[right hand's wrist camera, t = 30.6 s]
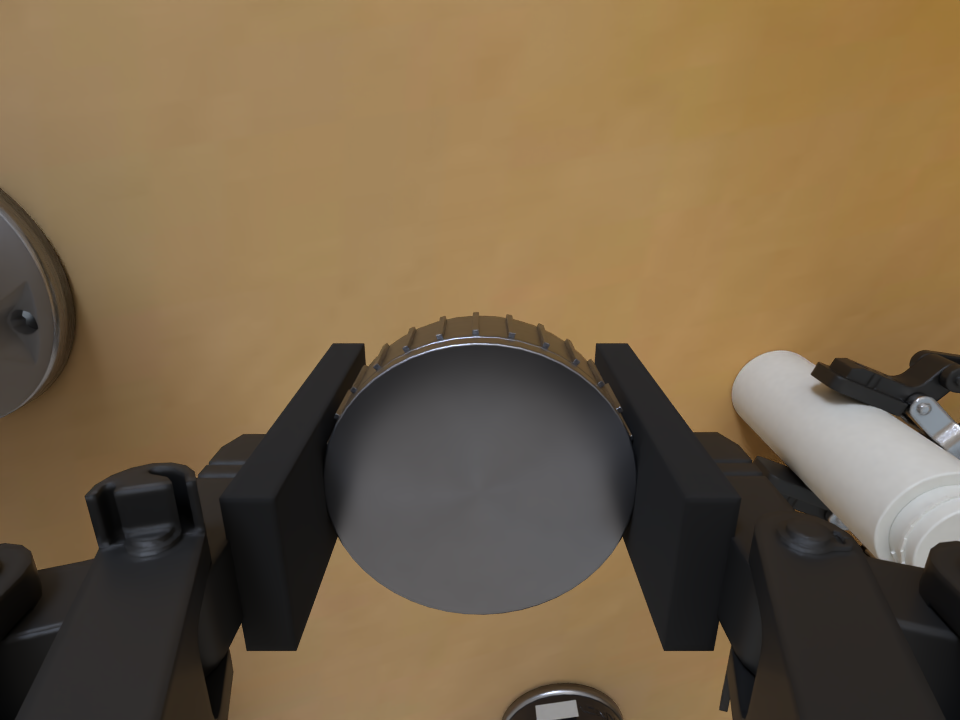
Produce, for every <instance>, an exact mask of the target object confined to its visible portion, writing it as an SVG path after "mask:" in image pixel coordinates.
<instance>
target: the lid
mask: <svg viewBox="0 0 960 720" xmlns="http://www.w3.org/2000/svg"><path fill="white" fill-rule="evenodd" d="M621 412H623V410H622V408H621V406H620V404H619V402H618V400H617V398H616V397H615V395H614V393H613V391H612V389H611V387H610V385H609V383H607V384H605V383H604V381H603V379H602V377H601V375H600V373H599V371H598V369H597V367H596V366H595V364H594V362H593V361H592V360H591V359H590V360H589V361H587V360H586V359H585V358H584V357H583V356H582V355H581V354H580V353H579V352H577V351H576V350H575V349H574V346H573V344H572V342H571V341H570V340H569V339H566V340H565V341H563V340H561V339H560V338H558V337H557V336H555V335H553V334H552V333H550V332H548V331H545V328H544V326H543V325H541V324H538V326H537V327H536V326H534V325H531V324H528V323H525V322H521V321H518V320H514V319H513V318H512V315H506V318H502V317H496V316H479V312H473V316H467V317H456V318H452V319H446V316H443V317H440V321H438V322H435V323H432V324H429V325H427V326H424V327H421V328H419V329H417V330H416V329H415V327H412V328H410V329H409V332H408V334H407V335H405V336H403V337H402V338H400V339H399V340H397V341H396V342H394V343H393V344H391V345H390V346H389V345H388V344H387V343H386V344H385V345H384V346H383V347H382V349H381V351H380V353H379V355H378V356H377V357H376V358H375V359H374V360H373V362H372V363H371V364H370V365H369V366H366V365H364V366H363V367H362V369H361V370H360V372H359V374H358V376H357V378H356V380H355V382H354V384H353V386H352V387H351V389H350V390H348V392H347V394H346V395H345V397H344V399H343V401H342V403H341V405H340V407H339V408H338V410H337V412H336V414H335V416H334V419H336V420H337V422H336V424H335V426H334V429H333V431H332V434H331V436H330V438H329V440H328V442H327V449H326V453H325V457H324V466H323V481H324V491H325V500H326V507H327V512H328V515H329V517H330V520H331V523H332V525H333V528H334V530H335V532H336V534H337V536H338V537H339V539H340V541H341V543H342V545H343V546H344V547H345V549H346V550H347V551H348V553H349V554H350V556H351V557H352V558H353V559H354V560H355V561H356V563H357V564H358V565H359V566H360V567H361V568H362V569H363V570H364V571H365V572H366V573H368V574H369V575H370V576H371V577H372V578H374V579H375V580H376V581H377V582H379V583H380V584H382V585H383V586H385V587H386V588H388V589H389V590H391V591H393V592H394V593H396V594H398V595H400V596H402V597H404V598H406V599H408V600H410V601H413V602H416V603H418V604H421V605H424V606H427V607H430V608H434V609H438V610H442V611H447V612H454V613H461V614H481V615H485V614H499V613H507V612H512V611H518V610H523V609H526V608H530V607H533V606H537V605H540V604H542V603H545V602H547V601H549V600H552V599H554V598H557V597H558V596H560V595H562V594H564V593H566V592H568V591H569V590H571V589H573V588H574V587H576V586H577V585H579V584H580V583H581V582H583V581H584V580H586V579H587V578H588V577H589V576H590V575H591V574H593V573H594V572H595V571H596V570H597V569H598V568H599V567H600V566H601V565H602V564H603V563H604V562H605V560H606V559H607V558H608V557H609V556H610V555H611V554H612V552H613V551H614V549H615V548H616V546H617V545H618V543H619V542H620V540H621V538H622V536H623V534H624V532H625V530H626V528H627V526H628V524H629V521H630V518H631V515H632V512H633V508H634V503H635V495H636V485H637V464H636V457H635V451H634V448H633V445H632V441H633V436H632V434H631V432H630V430H629V428H628V426H627V424H626V422H625V420H624V418H623V416H622V415H621Z"/></svg>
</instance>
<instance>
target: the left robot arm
mask: <svg viewBox="0 0 960 720" xmlns="http://www.w3.org/2000/svg"><path fill="white" fill-rule="evenodd" d="M810 375H812V376H813V377H814V378H816V379H817V380H819V381H820V382H822V383H823V384H825V385H826V386H828V387H829V388H831V389H833V390H835V391H837V392H839V393H841V394H844V395H846V396H849V397H851V398H854V399H856V400H859V401H861V402H864V403H866V404H869V405H871V406H873V407H876V408H879V409H882V410H884V411H886V412H888V413H891V414H893V415H896V418H897V419H898V420H900V421H901V422H903V423H904V424H906V425H907V426H909V427H910V428H912V429H913V430H915V431H916V432H918V433H920V434H921V435H923V436H924V437H926V438H927V439H929V440H930V441H932V442H933V443H935V444H936V445H938V446H939V447H941V448H942V449H944V450H945V451H947V452H948V453H950V454H951V455H953V456H955V457H956V458H958V459H959V460H960V423H956V422H955V421H954V420H953V419H952V418H951V417H950V416H949V415H948V414H947V413H946V411H945V410H944V409H943V408H942V407H941V406H940V405H939V404H938V403H937V401H938V400H939V399H941V398H942V397H943V396H945V395H946V394H947V393H948V392H950V391H951V392H955V393H960V355H956V354H949V353H942V352H936V351H929V350H922V351H919V352H917V353H916V354H915V355H914V356H913V357H912V358H911V360H910V368H909V369H908V370H907V371H905V372H904V373H902V374H900V375H896V376H889V375H886V374H883V373H881V372H879V371H876V370H874V369H871V368H869V367H867V366H864V365H862V364H859V363H857V362H854V361H852V360H850V359H847V358H835V359H834V361H833V362H832V364H831V365H830V366H828V365H825V364H823V363H820V362H818V363H817V365H816V366H815V368H814V369H813V371H812V372H811V374H810ZM753 463H755V464H756V466H757V467H758V468H759V469H760V470H761V471H762V474H763V476H766V477H767V478H768V480H769V481H770V482H771V483H772V484H773V485H774V487H775V488H776V489H777V490H778V491H779V492H780V494H781V495H782V496H783V497H784V498H785V499H786V501H787V502H788V503H789V504H790V505H791V506H792V508H793V509H795V510H798V511H801V512H804V513H805V514H808V515H812V516H816V517H819V518H821V519H823V520H826V521H828V522H830V523H832V524H835V525H837V526H838V527H839V528H841V529H842V530H849V529H848V528H847V527H846V526H845V525H844V524H843V523H842V522H841V521H840V520H839V519H838V518H837V517H836V516H835V515H834V513H833V512H832V511H831V510H830V509H829V508H828V507H827V506H826V505H825V504H824V503H823V502H822V501H821V500H820V499H819V498H818V497H817V496H816V495H815V494H814V493H813V492H812V491H811V490H810V489H809V487H808V486H807V485H806V484H805V483H804V482H803V481H802V480H801V479H800V478H799V477H798V476H797V475H796V474H795V473H794V472H793V471H792V470H791V469H790V468H789V467H787V466H784V465H782V464H779V463H776V462H774V461H771V460H768V459H766V458H763V457H760V456H757V457H756V458H755V460H754V462H753ZM858 545H859V544H858ZM859 546H860V545H859ZM860 547H861V549H862V551H863V553H864V555H865V556H868V557H872V558H876V557H875V556H874V555H873V554H872V553H871V552H870V551H869V550H868V549H867V548H866V547H865V546H864V545H863V544H862V546H860ZM876 559H877V558H876ZM502 720H623V717H622V714H621V711H620V710H619V708H618V706H617V705H616V704H615V702H614V701H613V700H612V699H611V698H609V697H608V696H607V695H605V694H604V693H602V692H600V691H598V690H596V689H594V688H591V687H588V686H584V685H579V684H569V683H562V684H552V685H546V686H543V687H539V688H536V689H534V690H531V691H529V692H527V693H526V694H524V695H522V696H521V697H519V698H518V699H517V700H515V701H514V702H513V703H512V704H511V705H510V707H509V708H508V709H507V711H506V712H505V714H504V716H503V719H502Z"/></svg>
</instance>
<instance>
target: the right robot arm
mask: <svg viewBox="0 0 960 720" xmlns="http://www.w3.org/2000/svg"><path fill="white" fill-rule="evenodd" d="M74 328H75V316H74V306H73V299H72V295H71V290H70V286H69V283H68V280H67V277H66V274H65V272H64V270H63V267H62V265H61V263H60V260H59V259H58V257H57V255H56V253H55V251H54V249H53V247H52V246H51V244H50V243H49V241H48V240H47V238H46V237H45V235H44V234H43V232H42V231H41V230H40V228H39V227H38V226H37V224H36V223H35V222H34V221H33V219H32V218H31V217H30V216H29V215H28V214H27V213H26V212H25V211H24V209H23V208H22V207H20V206H19V205H18V204H17V203H16V202H15V201H14V200H13V199H12V198H11V197H10V196H9V195H7V194H6V193H5V192H4V191H3V190H1V189H0V418H2V417H4V416H6V415H8V414H10V413H11V412H13V411H15V410H17V409H18V408H20V407H22V406H24V405H25V404H27V403H29V402H30V401H32V400H34V399H35V398H37V397H38V396H40V395H41V394H42V393H44V392H45V391H46V390H47V389H48V388H49V387H50V386H51V385H52V384H53V383H54V381H55V380H56V379H57V378H58V376H59V375H60V373H61V372H62V370H63V368H64V366H65V364H66V362H67V360H68V357H69V354H70V351H71V348H72V343H73V338H74ZM364 365H366V361H365V347H364V343H333V344H332V345H331V347H330V348H329V350H328V351H327V352H326V354H325V355H324V356H323V358H322V359H321V360H320V362H319V363H318V364H317V366H316V367H315V369H314V370H313V371H312V373H311V374H310V375H309V377H308V378H307V379H306V381H305V382H304V383H303V385H302V386H301V387H300V389H299V390H298V392H297V393H296V394H295V396H294V397H293V398H292V400H291V401H290V402H289V404H288V405H287V406H286V408H285V409H284V411H283V412H282V413H281V415H280V416H279V417H278V419H277V420H276V421H275V423H274V424H273V425H272V427H271V428H270V430H269V431H268V432H267V434H243V435H241V436H240V437H238V438H236V439H235V440H233V441H231V442H230V443H228V444H226V445H225V446H223V447H221V449H220V450H219V451H218V452H217V453H216V455H215V456H214V457H213V458H212V459H211V460H210V462H209V465H206V466H205V467H204V469H203V470H202V471H201V472H200V473H199V474H198V478H196V477H195V472H194V471H193V470H192V469H190V468H189V467H187V466H186V465H181V464H176V463H152V464H147V465H143V466H138V467H133V468H130V469H127V470H125V471H122V472H119V473H117V474H114V475H111V476H110V477H108V478H106V479H105V480H103V481H101V482H100V483H98V484H96V485H95V486H94V487H93V488H92V489H91V490H90V491H89V492H88V493H87V494H86V495H85V499H86V503H87V506H88V510H89V513H90V517H91V521H92V524H93V528H94V532H95V535H96V539H97V542H98V546H99V550H98V552H97V554H96V556H95V558H94V559H91V560H87V561H82V562H77V563H72V564H67V565H62V566H57V567H52V568H47V569H42V570H37V568H36V565H35V562H34V559H33V556H32V553H31V551H29V550H28V549H27V548H25V547H24V546H22V545H16V544H7V543H4V544H0V720H227V719H228V711H229V703H230V695H231V687H232V679H233V667H232V660H231V655H230V650H229V647H230V645H231V643H232V641H233V639H234V637H235V635H236V633H237V631H238V629H239V627H240V625H241V623H242V628H243V633H244V638H245V644H246V649H247V651H296V650H297V648H298V645H299V642H300V639H301V637H302V634H303V631H304V628H305V626H306V623H307V620H308V617H309V615H310V612H311V609H312V606H313V604H314V601H315V598H316V595H317V593H318V590H319V587H320V584H321V581H322V579H323V576H324V573H325V570H326V568H327V565H328V562H329V559H330V557H331V554H332V551H333V548H334V546H335V543H336V540H337V537H338V536H337V534H336V532H335V530H334V528H333V525H332V523H331V520H330V517H329V515H328V512H327V507H326V500H325V491H324V481H323V466H324V457H325V453H326V449H327V442H328V440H329V438H330V436H331V434H332V431H333V429H334V426H335V424H336V422H337V420H336V419H334V416H335V414H336V412H337V410H338V408H339V407H340V405H341V403H342V401H343V399H344V397H345V395H346V394H347V392H348V390H350V389H351V387H352V386H353V384H354V382H355V380H356V378H357V376H358V374H359V372H360V370H361V369H362V367H363V366H364ZM595 366H596V367H597V369H598V371H599V373H600V375H601V377H602V379H603V381H604V383H605V384H607V383H609V385H610V387H611V389H612V391H613V393H614V395H615V397H616V398H617V400H618V402H619V404H620V406H621V408H622V410H623V412H621V415H622V416H623V418H624V420H625V422H626V424H627V426H628V428H629V430H630V432H631V434H632V436H633V441H632V445H633V448H634V451H635V457H636V464H637V485H636V495H635V503H634V508H633V512H632V515H631V518H630V521H629V524H628V526H627V528H626V530H625V532H624V534H623V539H624V542H625V545H626V547H627V550H628V553H629V556H630V558H631V561H632V564H633V567H634V569H635V572H636V575H637V578H638V580H639V583H640V586H641V589H642V592H643V594H644V597H645V600H646V603H647V605H648V608H649V611H650V614H651V616H652V619H653V622H654V625H655V627H656V630H657V633H658V636H659V638H660V641H661V644H662V647H663V649H664V651H714V646H715V641H716V635H717V630H718V624H719V621H720V623H721V625H722V627H723V629H724V631H725V633H726V635H727V637H728V639H729V641H730V643H731V650H730V655H729V660H728V665H727V670H726V675H725V680H724V685H723V690H722V695H721V702H720V708H719V710H721V711H725V712H727V711H728V706H729V701H731V710H732V718H733V720H960V541H949V542H940V543H938V544H937V545H935V546H934V547H932V548H931V549H930V552H929V555H928V558H927V561H926V564H925V567H924V568H922V567H917V566H911V565H906V564H901V563H896V562H891V561H886V560H881V559H876V558H872V557H868V556H865V555H864V553H863V551H862V549H861V547H860V546H859V545H858V543H857V542H856V541H855V540H854V538H853V537H852V536H851V535H850V534H848V533H847V532H845V531H844V530H842V529H841V528H839V527H838V526H837V525H835V524H832V523H830V522H828V521H826V520H823V519H821V518H819V517H816V516H812V515H808V514H804V513H800V512H796V511H795V510H794V509H793V508H792V506H791V505H790V504H789V503H788V502H787V501H786V499H785V498H784V497H783V496H782V495H781V494H780V492H779V491H778V490H777V489H776V488H775V487H774V485H773V484H772V483H771V482H770V481H769V480H768V478H767V477H766V476H763V474H762V471H761V470H760V469H759V468H758V467H757V466H756V464H755V463H752V460H751V459H750V457H749V456H748V455H747V454H746V453H745V452H744V451H743V449H742V448H741V447H740V446H739V445H738V444H736V443H734V442H733V441H731V440H729V439H728V438H726V437H724V436H723V435H721V434H719V433H718V432H692V430H691V429H690V428H689V426H688V425H687V424H686V422H685V421H684V419H683V418H682V417H681V415H680V414H679V413H678V411H677V410H676V409H675V407H674V406H673V405H672V403H671V402H670V401H669V399H668V398H667V396H666V395H665V394H664V392H663V391H662V390H661V388H660V387H659V386H658V384H657V383H656V382H655V380H654V379H653V377H652V376H651V375H650V373H649V372H648V371H647V369H646V368H645V367H644V365H643V364H642V363H641V361H640V360H639V359H638V357H637V356H636V354H635V353H634V352H633V350H632V349H631V348H630V346H629V345H628V344H627V343H596V352H595Z"/></svg>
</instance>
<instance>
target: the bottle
mask: <svg viewBox="0 0 960 720" xmlns="http://www.w3.org/2000/svg"><path fill="white" fill-rule="evenodd" d="M815 366H816V365H814V364H813V363H811V362H810V361H808V360H807V359H805V358H804V357H802V356H801V355H799V354H797V353H794V352H790V351H781V350H780V351H772V352H767V353H764V354H762V355H759V356H757V357H756V358H754V359H752V360H751V361H750V362H748V363H747V364H746V365H745V366H744V367H743V368H742V370H741V371H740V372H739V374H738V375H737V377H736V379H735V381H734V384H733V388H732V402H733V406H734V408H735V410H736V412H737V413H738V414H739V416H740V417H741V418H742V419H743V420H744V421H745V422H746V423H747V424H748V425H749V426H750V427H751V428H752V429H753V430H754V431H755V432H756V433H757V434H758V436H759V437H760V438H761V439H762V440H763V441H764V442H765V443H766V444H767V445H768V446H769V447H770V448H771V449H772V450H773V451H774V452H775V453H776V454H777V455H778V456H779V457H780V458H781V459H782V460H783V461H784V463H785V464H786V465H787V466H788V467H789V468H790V469H791V470H792V471H793V472H794V473H795V474H796V475H797V476H798V477H799V478H800V479H801V480H802V481H803V482H804V483H805V484H806V485H807V486H808V487H809V489H810V490H811V491H812V492H813V493H814V494H815V495H816V496H817V497H818V498H819V499H820V500H821V501H822V502H823V503H824V504H825V505H826V506H827V507H828V508H829V509H830V510H831V511H832V512H833V513H834V515H835V516H836V517H837V518H838V519H839V520H840V521H841V522H842V523H843V524H844V525H845V526H846V527H847V528H848V529H849V530H850V531H851V532H852V533H853V534H854V535H855V536H856V537H857V538H858V539H859V540H860V542H861V543H862V544H863V545H864V546H865V547H866V548H867V549H868V550H869V551H870V552H871V553H872V554H873V555H874V556H875V557H876V558H877V559H881V560H886V561H891V562H896V563H901V564H906V565H911V566H917V567H922V568H924V567H925V564H926V561H927V558H928V555H929V552H930V549H931V548H932V547H934V546H935V545H937V544H938V543H940V542H949V541H960V460H959V459H958V458H956V457H955V456H953V455H951V454H950V453H948V452H947V451H945V450H944V449H942V448H941V447H939V446H938V445H936V444H935V443H933V442H932V441H930V440H929V439H927V438H926V437H924V436H923V435H921V434H920V433H918V432H916V431H915V430H913V429H912V428H910V427H909V426H907V425H906V424H904V423H903V422H901V421H900V420H898V419H897V418H895V417H894V416H892V415H891V414H889V413H888V412H886V411H884V410H882V409H879V408H876V407H873V406H871V405H869V404H866V403H864V402H861V401H859V400H856V399H854V398H851V397H849V396H846V395H844V394H841V393H839V392H837V391H835V390H833V389H831V388H829V387H828V386H826V385H825V384H823V383H822V382H820V381H819V380H817V379H816V378H814V377H813V376H812V375H810V374H811V372H812V371H813V369H814V368H815Z"/></svg>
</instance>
